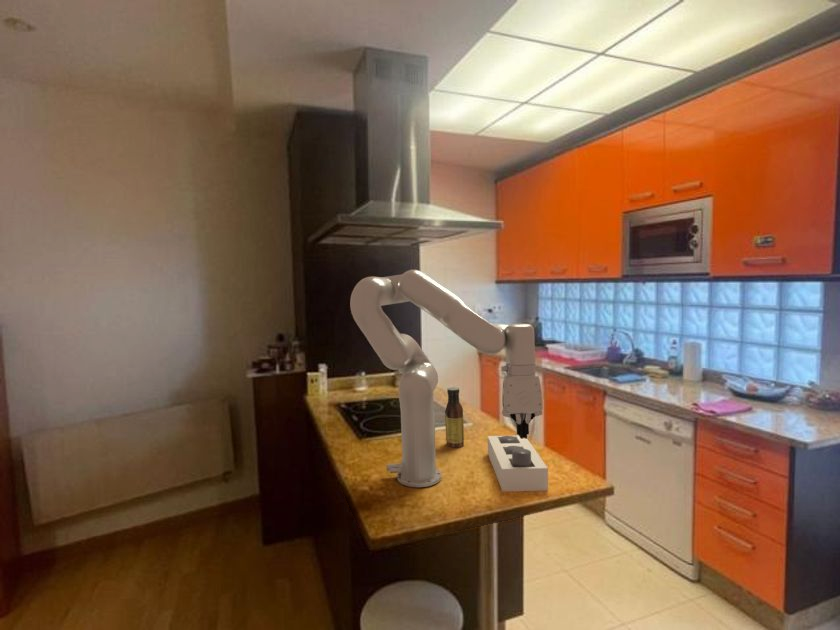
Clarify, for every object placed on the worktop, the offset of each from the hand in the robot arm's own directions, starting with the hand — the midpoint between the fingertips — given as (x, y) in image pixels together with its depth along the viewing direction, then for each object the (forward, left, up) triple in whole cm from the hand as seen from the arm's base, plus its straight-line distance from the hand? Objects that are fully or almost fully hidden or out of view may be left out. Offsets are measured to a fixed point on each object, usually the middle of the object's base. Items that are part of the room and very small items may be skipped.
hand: (522, 436), depth 118 cm
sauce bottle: (-16, +31, -13) cm, 38 cm away
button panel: (0, +9, -13) cm, 16 cm away
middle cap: (0, +9, -12) cm, 15 cm away
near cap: (0, 0, -10) cm, 10 cm away
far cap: (0, +18, -12) cm, 22 cm away
